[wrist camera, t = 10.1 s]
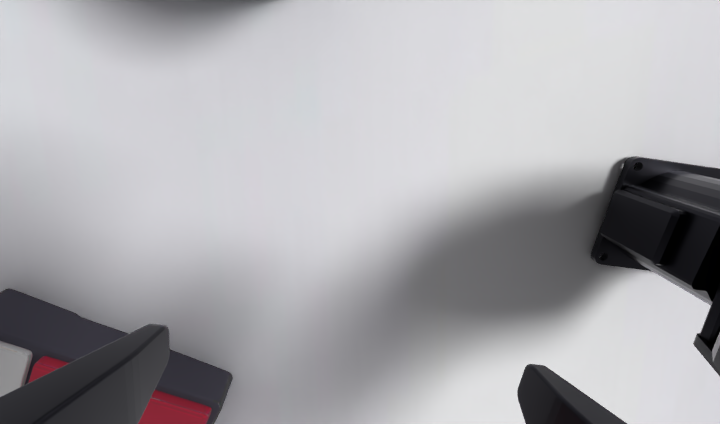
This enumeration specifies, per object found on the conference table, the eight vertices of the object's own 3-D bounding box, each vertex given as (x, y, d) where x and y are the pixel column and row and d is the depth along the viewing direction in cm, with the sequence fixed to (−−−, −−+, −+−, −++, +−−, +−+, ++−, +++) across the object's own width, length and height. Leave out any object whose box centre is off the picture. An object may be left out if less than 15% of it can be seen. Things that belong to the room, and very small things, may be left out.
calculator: (163, 527, 24) (-91, 468, 21) (187, 464, 28) (-22, 406, 25) (220, 415, 21) (-64, 327, 18) (238, 362, 25) (8, 283, 22)
